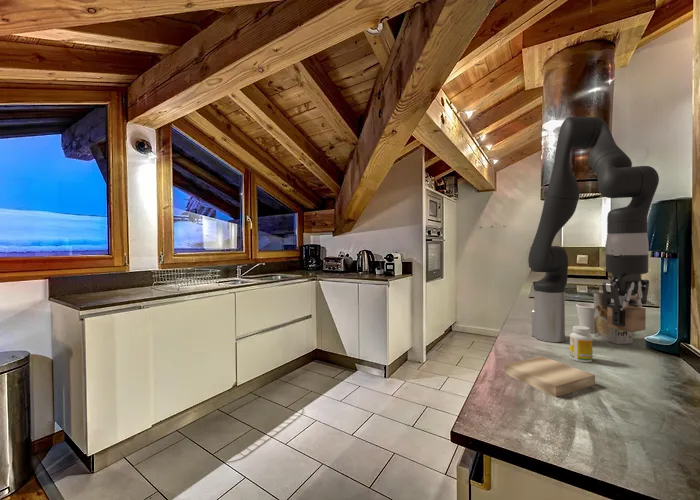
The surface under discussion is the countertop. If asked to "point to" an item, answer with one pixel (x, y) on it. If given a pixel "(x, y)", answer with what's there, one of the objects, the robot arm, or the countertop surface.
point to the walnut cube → (629, 319)
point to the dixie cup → (586, 315)
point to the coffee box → (601, 324)
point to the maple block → (550, 375)
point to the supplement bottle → (581, 344)
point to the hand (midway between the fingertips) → (625, 323)
